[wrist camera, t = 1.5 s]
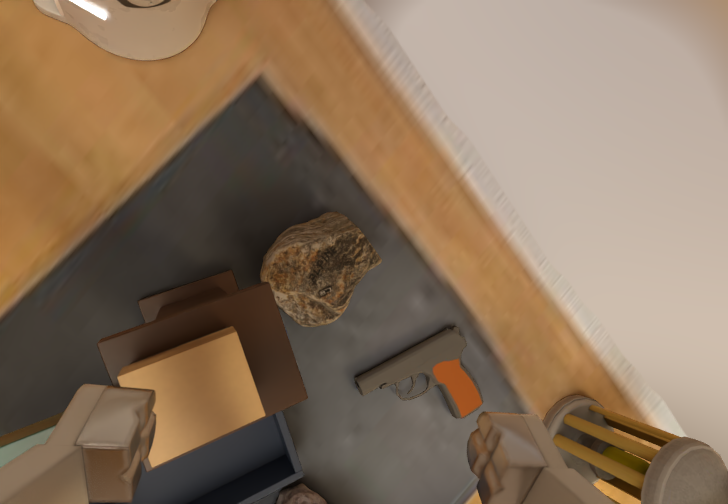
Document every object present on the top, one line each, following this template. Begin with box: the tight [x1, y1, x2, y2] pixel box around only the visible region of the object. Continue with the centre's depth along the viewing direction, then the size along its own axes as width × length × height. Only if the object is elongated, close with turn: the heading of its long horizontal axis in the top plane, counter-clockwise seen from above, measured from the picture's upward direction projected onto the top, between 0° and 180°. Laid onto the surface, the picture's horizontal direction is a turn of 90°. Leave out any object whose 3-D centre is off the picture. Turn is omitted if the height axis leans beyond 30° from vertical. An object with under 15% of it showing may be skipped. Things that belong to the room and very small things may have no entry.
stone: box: [260, 212, 382, 327], centre depth 52 cm, size 14×10×10 cm
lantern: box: [543, 395, 728, 504], centre depth 59 cm, size 14×14×25 cm
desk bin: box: [89, 411, 304, 504], centre depth 48 cm, size 12×20×6 cm, turn 108°
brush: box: [0, 326, 266, 468], centre depth 24 cm, size 15×5×4 cm, turn 108°
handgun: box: [354, 326, 483, 418], centre depth 60 cm, size 2×16×12 cm
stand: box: [97, 270, 308, 472], centre depth 39 cm, size 8×10×25 cm
